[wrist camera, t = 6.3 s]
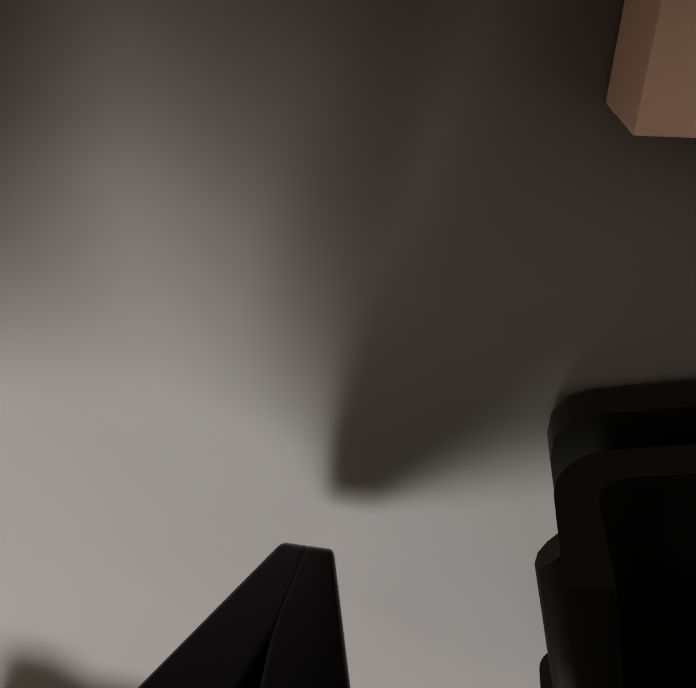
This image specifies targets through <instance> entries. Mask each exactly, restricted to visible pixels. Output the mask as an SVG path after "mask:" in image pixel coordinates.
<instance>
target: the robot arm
mask: <svg viewBox="0 0 696 688" xmlns="http://www.w3.org/2000/svg"><path fill="white" fill-rule="evenodd" d="M138 688H350V681H349V673H348V665H347V657H346V648H345V640H344V632H343V623H342V615H341V607H340V599H339V590H338V582H337V574H336V565H335V557H334V553H333V551H332V550H331V549H326V548H319V547H312V546H305V545H298V544H291V543H283V544H281V545H279V546H278V547H277V548H276V549H275V550H274V551H273V552H272V553H271V554H270V555H269V556H268V557H267V558H266V559H265V560H264V561H263V562H262V563H261V564H260V565H259V566H258V567H257V568H256V569H255V570H254V571H253V572H252V573H251V574H250V575H249V576H248V577H247V578H246V579H245V580H244V581H243V582H242V583H241V584H240V585H239V586H238V587H237V588H236V589H235V590H234V591H233V592H232V593H231V594H230V595H229V596H228V597H227V598H226V599H225V600H224V601H223V602H222V603H221V604H220V605H219V606H218V607H217V608H216V609H215V610H214V611H213V612H212V613H211V614H210V615H209V617H208V618H207V619H206V620H205V621H204V622H203V623H202V624H201V625H200V626H199V627H198V628H197V629H196V630H195V631H194V632H193V633H192V634H191V635H190V636H189V637H188V638H187V639H186V640H185V641H184V642H183V643H182V644H181V645H180V646H179V647H178V648H177V649H176V650H175V651H174V652H173V653H172V654H171V655H170V656H169V657H168V658H167V659H166V660H165V661H164V662H163V663H162V664H161V665H160V666H159V667H158V668H157V669H156V670H155V671H154V672H153V673H152V674H151V675H150V676H149V677H148V678H147V679H146V680H145V681H144V682H143V683H142V684H141V685H140V686H139V687H138Z"/></svg>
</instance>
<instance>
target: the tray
mask: <svg viewBox="0 0 696 688" xmlns="http://www.w3.org/2000/svg"><path fill="white" fill-rule="evenodd" d="M606 104H607V105H608V106H609V107H610V109H611V110H612V111H613V112H614V113H615V114H616V116H617V117H618V118H619V119H620V120H621V121H622V123H623V124H624V125H625V126H626V127H627V129H628V130H629V131H630V132H631V133H632V134H633V136H659V137H685V138H696V0H625V1H624V6H623V12H622V17H621V23H620V28H619V33H618V39H617V44H616V50H615V55H614V60H613V66H612V71H611V77H610V82H609V87H608V93H607V98H606Z"/></svg>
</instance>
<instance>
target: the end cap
mask: <svg viewBox="0 0 696 688" xmlns="http://www.w3.org/2000/svg"><path fill="white" fill-rule="evenodd" d="M547 435H548V444H549V453H550V461H551V469H552V478H553V486H554V501H555V510H556V519H557V528H558V534H557V535H555V536H554V537H553V538H551V539H550V540H549V541H547V542H546V544H545V545H544V546H543V547H542V548H541V549H540V551H539V552H538V554H537V557H536V560H535V570H536V577H537V583H538V590H539V597H540V604H541V610H542V617H543V624H544V631H545V637H546V644H547V651H548V653H547V654H546V655H545V656H544V657H543V658H542V660H541V662H540V669H539V670H540V686H541V688H696V380H684V381H673V382H662V383H650V384H639V385H628V386H617V387H605V388H594V389H590V390H587V391H583V392H580V393H577V394H574V395H571V396H568V397H567V398H566V399H565V400H564V401H563V402H562V403H561V404H560V405H559V406H558V407H557V408H556V409H555V410H554V411H553V412H552V413H551V417H550V422H549V427H548V432H547Z"/></svg>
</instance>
